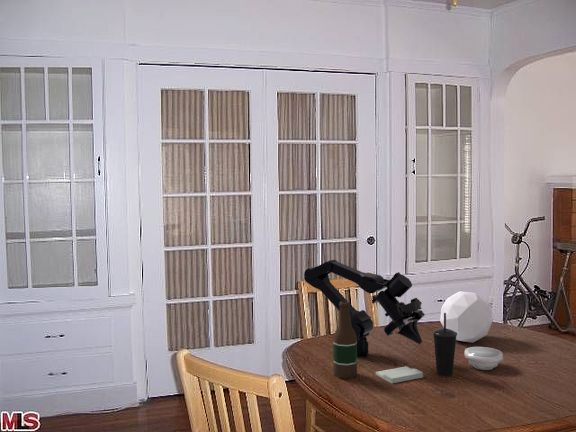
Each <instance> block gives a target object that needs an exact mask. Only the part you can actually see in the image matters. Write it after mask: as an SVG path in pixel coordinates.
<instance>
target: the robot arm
mask: <svg viewBox="0 0 576 432" xmlns="http://www.w3.org/2000/svg"><path fill="white" fill-rule="evenodd" d="M331 273H332V274H335V275H337V276H339V277H341V278H344V279H345V280H348V281H350V282H352V283H355V284H356V285H357V287H359V288H360V289H362V290H363V291H364V292H366V293H367V294H372V296H371V297H372V298H371V304H376V303H379V305H380V306H381V308H382V309H383V311H384V312H385V313H384V315H385V317H389V318H390V319H391V321H389V323H388V324H387V325H386V326H385V327H384V328H383V329H384V330H383V331H384V333H385V334H386V336H387V337H389V336H391V335H393V334H394V331H396V330H397V329H398V332H397V335H400V336H403V337H405V338H407V339H408V340H410V341H412V342H414V343H416V344H419V345H421V344H422V343H423V340H422V337H421V335H420V331H419V329H418V322H419V321H420V320H421V319H423V317H425V316H426V314H425V313H424V312H423V310H422V309H423V308H422V304H423V303H422V302H423V301H420V299H418V297H414V298H412V299H410V302H409V303H406V304H405V302H404V301H399V300H398V299H397V298H401V297H403V296H404V295H405V293H407V292H408V291H409V290H410V289H411V288H412V287H413V283H412V281H411V280H410V279H409V277H407V276H405V275H403V274H401V273H400V272H396V273H395V274H393V276H392V277H391V278H390V279H387V278H384V277H383V276H382V275H380V274H376V273H372V272H363V271H361V270H357V269H355V268H354V267H352V266H349V265H346V264H344V263H341V262H339V261H338V260H336V259H330V260H326V261H325V262H323V263H322V264H318V266H313V267H310V268H309V267H308V268H306V269H305V270H304V273H303V279H304V281H305V283H307V284H309V286H311V287H312V288H315V289H316V290H319V291H320V292H321V293H322V294H323V295H324V297H325V298H326V299H327V300H328V301H329V302H330V303H331V304H332V305H333V306H334V307H335V308H336V310H337V311H338V312H339V313H340V306H339V303H340V302H341V301H348V300H347V299H346V298H345V296H344V295H343V294H342V293H341V292H340V291H339V290H338V289H337V288H336V287H335V286H334V285H333V283H332V282H331V280H330V277H329V275H330V274H331ZM374 293H377V294H375V295H374ZM350 319H351V326H352V328H353V329H354V331H355V333H356V337H357V358H360V357H361V358H363V357H364V358H366V357H367V358H368V357H369V341H368V340H367V339H368V338H367V337H369V336H370V333H371V332H372V331H373V328H374V322H373V319H372V317H371V316H370V315H368V314H367V312H366V311H365V310H363V309H362V310H360V311H359V310H357V309H356V308H354V306H353V305H352V304H351V303H350Z"/></svg>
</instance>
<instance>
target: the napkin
mask: <svg viewBox="0 0 576 432" xmlns="http://www.w3.org/2000/svg"><path fill="white" fill-rule="evenodd" d="M375 375H376V376H378V377H379V378H381V379H382V380H384V381H387V382H388V383H390V384H396V383H400V382H405V381H411V380H416V379H420V378H421V379H422V378H424V373H423V371H421V370H418V369H417V368H410V367H408V366H401V367H396V368H391V369H385V370H384V369H383V370H380V371H375Z"/></svg>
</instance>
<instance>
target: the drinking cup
mask: <svg viewBox="0 0 576 432" xmlns="http://www.w3.org/2000/svg"><path fill="white" fill-rule="evenodd" d="M432 335H433V344H434V345H433V346H434V354H435V356H434V357H435V366H436V367H435V368H436V374H437V375H438V376H439V377H452V376H453V371H454V362H455V361H454V360H455V354H456V345H457V344H456V342H457V340H456V336H457V332H455V331H453V330H451V329H447V328H446V313H444V327H441V328H437V329H434V330H433V331H432Z"/></svg>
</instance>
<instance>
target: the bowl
mask: <svg viewBox="0 0 576 432" xmlns="http://www.w3.org/2000/svg"><path fill="white" fill-rule="evenodd" d="M503 356H504V353H503V352H502V351H501V350H499V349H496V348H493V347H486V346H470V347H468V348H465V350H464V358H465V359H467V360H468V363H469V365H470V366H472V367H473V368H475V369H477V370H481V371H491V370H493V369H494V368H496V367H498V366H499V363H501V362H502V361H503V358H504V357H503Z"/></svg>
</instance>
